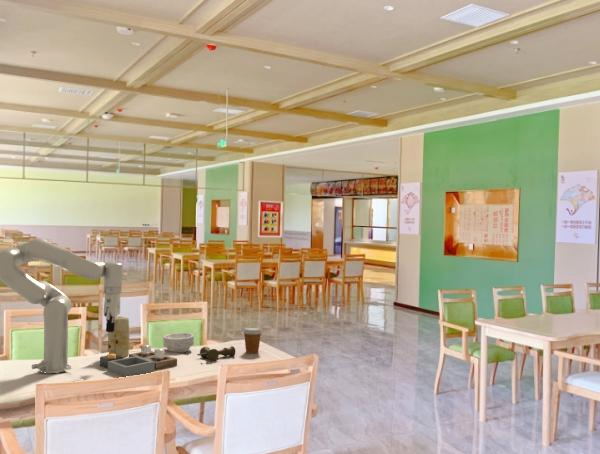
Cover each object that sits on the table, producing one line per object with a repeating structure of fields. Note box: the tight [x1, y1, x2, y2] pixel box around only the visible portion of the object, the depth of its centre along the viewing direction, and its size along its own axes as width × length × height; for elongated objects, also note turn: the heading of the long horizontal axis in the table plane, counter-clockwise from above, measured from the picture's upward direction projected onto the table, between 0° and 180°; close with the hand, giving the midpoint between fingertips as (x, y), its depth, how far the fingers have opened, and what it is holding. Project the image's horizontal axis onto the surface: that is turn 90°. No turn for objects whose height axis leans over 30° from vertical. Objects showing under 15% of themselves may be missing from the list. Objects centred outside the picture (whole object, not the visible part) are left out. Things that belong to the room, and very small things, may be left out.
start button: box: [106, 353, 116, 359], centre depth 243 cm, size 4×4×4 cm
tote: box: [107, 356, 155, 377], centre depth 236 cm, size 14×14×5 cm
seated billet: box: [140, 344, 152, 357], centre depth 254 cm, size 4×4×7 cm
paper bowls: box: [162, 332, 195, 354], centre depth 279 cm, size 15×15×8 cm
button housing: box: [99, 355, 123, 370], centre depth 243 cm, size 7×7×5 cm
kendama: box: [196, 345, 236, 362], centre depth 266 cm, size 6×10×20 cm
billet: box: [154, 347, 166, 361], centre depth 247 cm, size 4×4×7 cm
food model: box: [107, 315, 130, 358], centre depth 260 cm, size 10×7×20 cm
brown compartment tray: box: [128, 350, 178, 371], centre depth 250 cm, size 22×11×4 cm, turn 48°
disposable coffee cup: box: [243, 326, 263, 354], centre depth 280 cm, size 10×10×12 cm
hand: (110, 331), depth 243 cm, fingers closed
